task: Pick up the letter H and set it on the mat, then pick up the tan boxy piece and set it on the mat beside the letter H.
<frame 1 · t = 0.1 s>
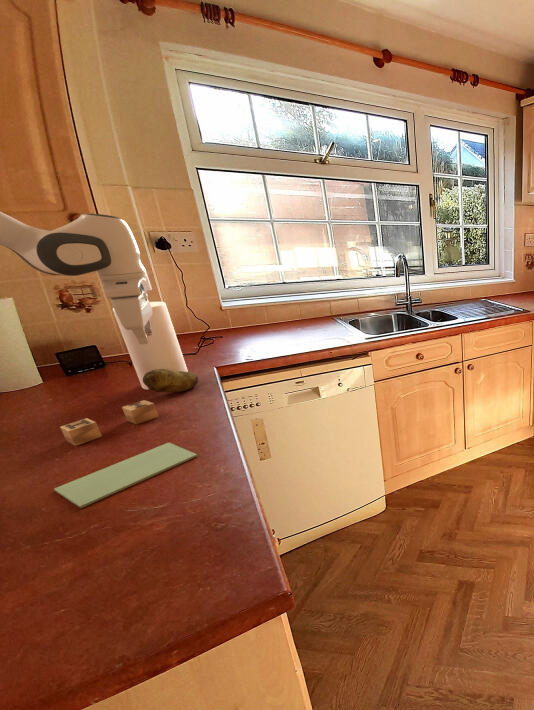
hand: (146, 339, 109), 20 cm above the counter, tool pointing down, fingers open, 8 cm apart
mat: (130, 472, 88), on the counter
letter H: (84, 439, 102), on the counter
tan boxy piece: (143, 418, 112), on the counter
cylinder: (166, 382, 137), on the counter
potato: (176, 392, 129), on the counter
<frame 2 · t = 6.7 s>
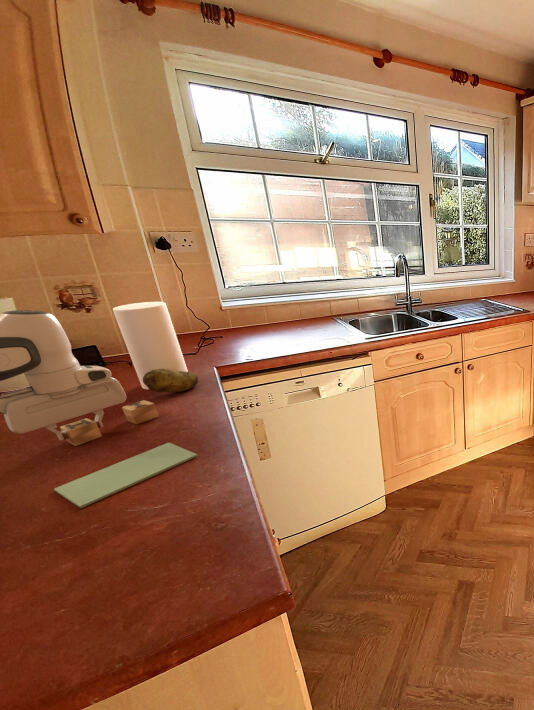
hand: (82, 433, 102), 2 cm above the counter, tool pointing down, fingers closed on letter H, 5 cm apart
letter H: (84, 439, 102), on the counter, touching gripper
everything else where it was.
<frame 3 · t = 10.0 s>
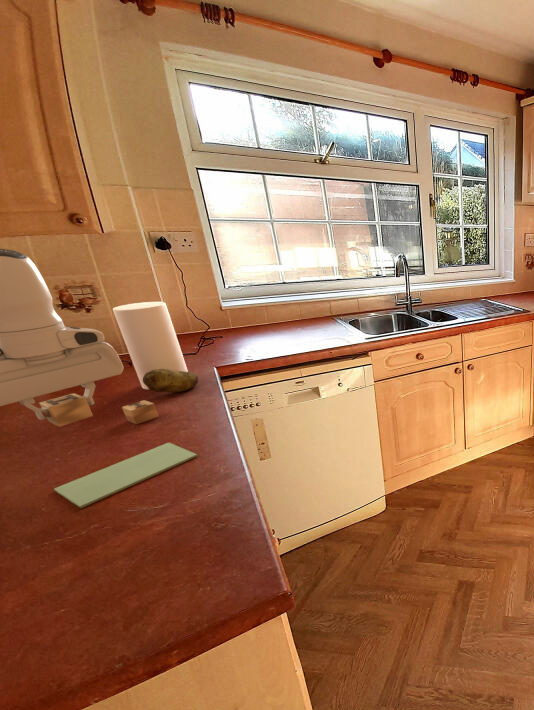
hand: (67, 411, 81), 15 cm above the counter, tool pointing down, fingers closed on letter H, 5 cm apart
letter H: (71, 418, 82), point 14 cm above the counter, touching gripper
everything else where it was.
when the fingers open (2 cm above the counter, at t = 13.7 s): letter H stays where it is, resting on mat.
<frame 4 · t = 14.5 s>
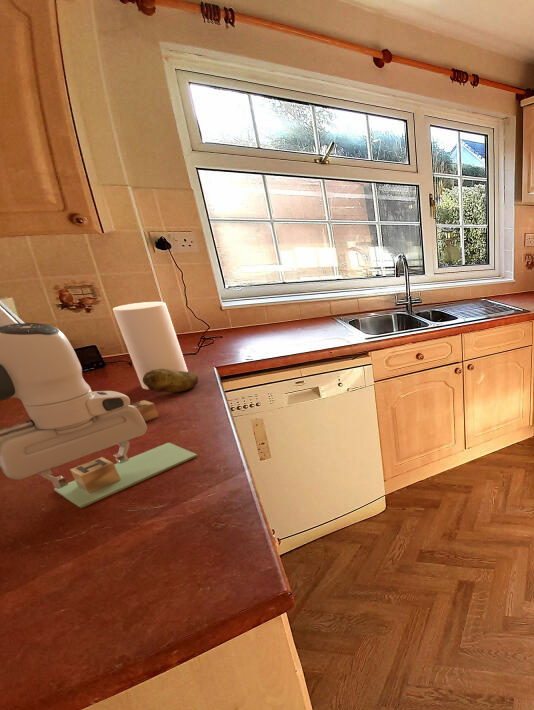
hand: (93, 473, 83), 3 cm above the counter, tool pointing down, fingers open, 8 cm apart
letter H: (99, 483, 84), resting on mat
everything else where it was.
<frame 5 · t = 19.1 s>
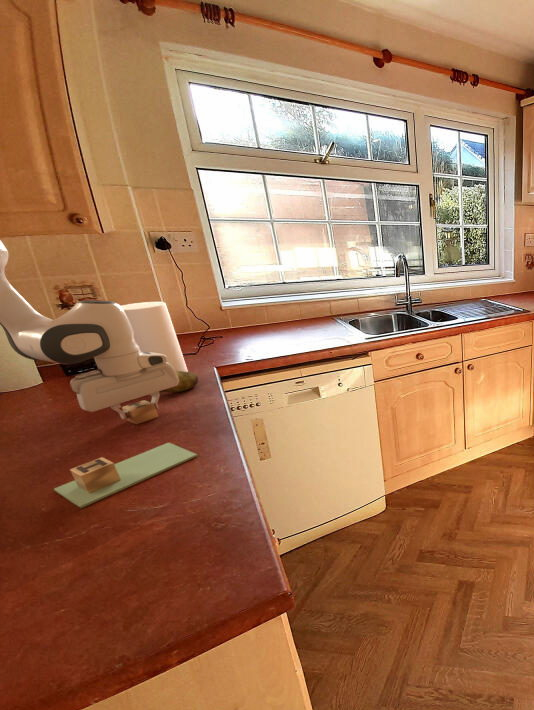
hand: (141, 413, 111), 2 cm above the counter, tool pointing down, fingers closed on tan boxy piece, 5 cm apart
tan boxy piece: (143, 418, 112), on the counter, touching gripper
everything else where it was.
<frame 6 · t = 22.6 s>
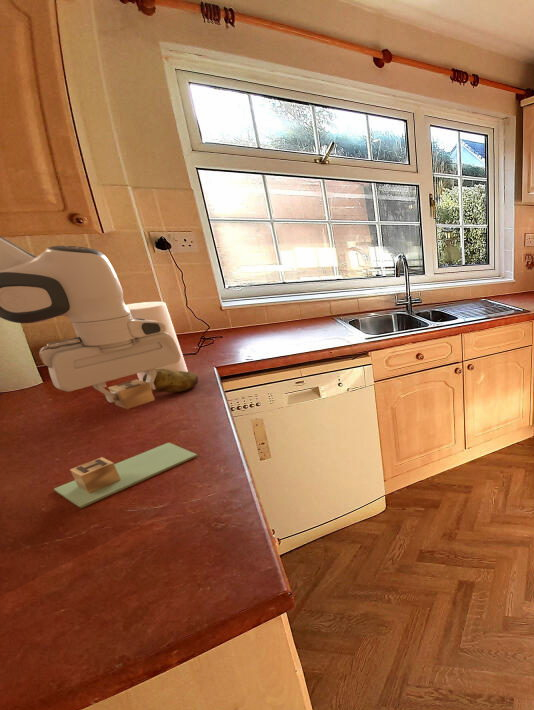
hand: (132, 395, 89), 15 cm above the counter, tool pointing down, fingers closed on tan boxy piece, 5 cm apart
tan boxy piece: (135, 402, 89), point 13 cm above the counter, touching gripper
everything else where it was.
when the fingers open (2 cm above the counter, at t = 26.0 s): tan boxy piece stays where it is, resting on mat.
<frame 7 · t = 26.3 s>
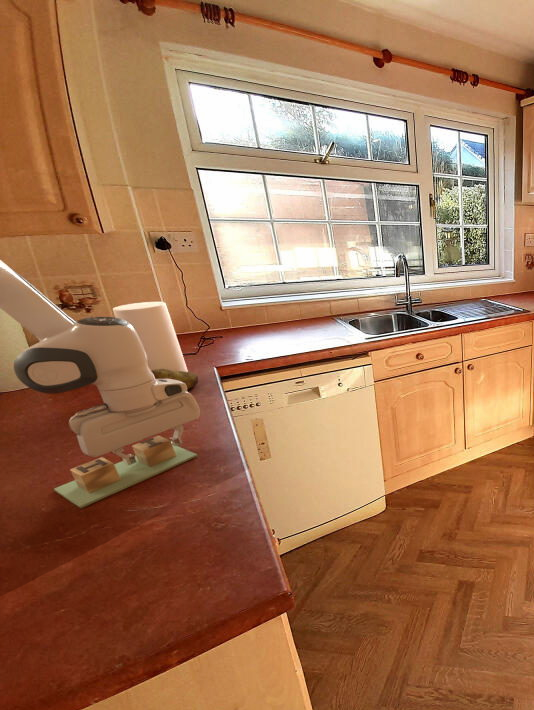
hand: (155, 453, 92), 2 cm above the counter, tool pointing down, fingers open, 7 cm apart
tan boxy piece: (157, 458, 92), resting on mat
everything else where it was.
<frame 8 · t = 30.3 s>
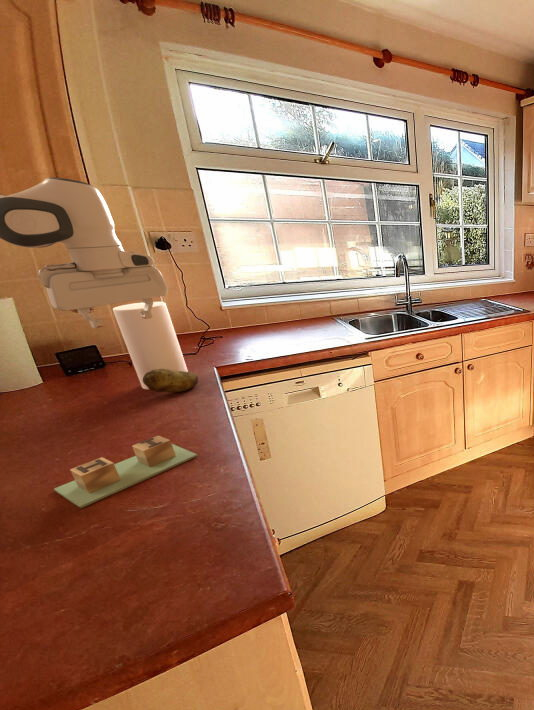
hand: (123, 322, 97), 27 cm above the counter, tool pointing down, fingers open, 8 cm apart
nothing on the counter moved.
at the end: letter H inside the target area on the mat (0.2 cm from its centre), point 0.5 cm above the mat's base; tan boxy piece inside the target area on the mat (0.3 cm from its centre), point 0.5 cm above the mat's base; tan boxy piece tilted 0° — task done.
